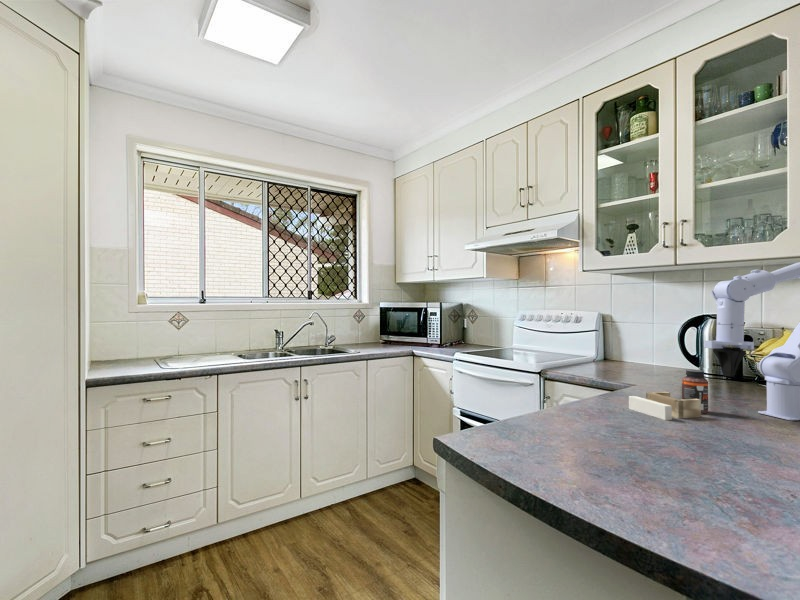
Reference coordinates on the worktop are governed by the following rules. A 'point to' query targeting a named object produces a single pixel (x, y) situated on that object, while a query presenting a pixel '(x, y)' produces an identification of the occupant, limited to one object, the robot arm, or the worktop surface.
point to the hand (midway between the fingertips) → (728, 376)
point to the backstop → (650, 407)
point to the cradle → (677, 404)
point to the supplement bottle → (696, 388)
